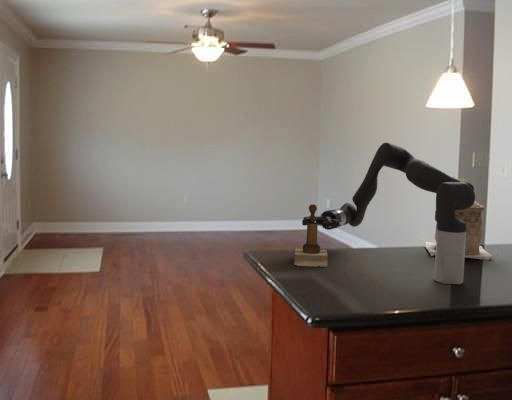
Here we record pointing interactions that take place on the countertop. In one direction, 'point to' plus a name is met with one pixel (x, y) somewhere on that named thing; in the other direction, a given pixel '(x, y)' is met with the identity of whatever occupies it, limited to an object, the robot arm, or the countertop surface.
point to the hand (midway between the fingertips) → (313, 223)
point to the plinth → (311, 258)
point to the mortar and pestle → (312, 233)
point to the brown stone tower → (468, 231)
